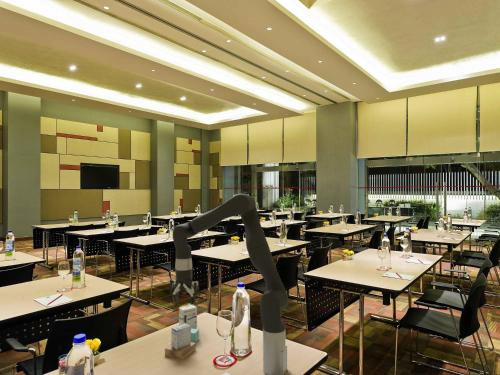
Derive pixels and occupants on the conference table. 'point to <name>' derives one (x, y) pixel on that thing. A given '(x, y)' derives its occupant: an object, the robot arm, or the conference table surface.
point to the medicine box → (181, 336)
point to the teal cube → (194, 335)
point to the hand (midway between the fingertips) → (184, 303)
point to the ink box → (188, 316)
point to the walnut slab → (180, 351)
